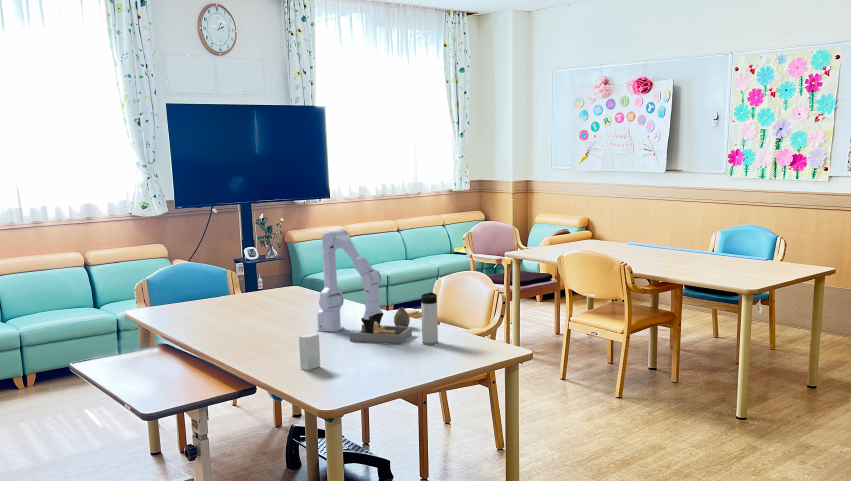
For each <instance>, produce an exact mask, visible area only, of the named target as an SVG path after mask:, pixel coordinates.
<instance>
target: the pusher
mask: <svg viewBox="0 0 851 481" xmlns="http://www.w3.org/2000/svg"><path fill="white" fill-rule="evenodd" d="M385 326H386V324H385V325H383V324H382V326H381V327H380V328H378V329H377V330H376V331H374V332H373V333H374V334H395V331H394V330H385Z"/></svg>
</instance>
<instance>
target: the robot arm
mask: <svg viewBox="0 0 851 481" xmlns="http://www.w3.org/2000/svg"><path fill="white" fill-rule="evenodd" d="M321 238H322V239H321V241H322V246H321V251H322V253H321V254H322V268H323V281H324V282H323V283H324V284H323V285H324V288H323V289H322V290H321V292H320V293H319V300H318V304H319V305H318V306H319V307H320V308H319V310H318V311H317V330H316V331H318V332H334V333H338V332H340V331H341V330H343V329H344V328H345V326H343V325H342V324H341V323H342V322H341V309H342V306H343V305H344V302H345V301H344V296H343V292H342V289H340V288H339V287H338V279H337V278H338V277H337V261H336V251H337V250H338V249H342V250H343V251H344V252H345V253H346V255H347V256H348V257H349V258H350V259H351V260H352V261H353V263H352V266H353V268H354V269H355V270H356V271H357V273H358V274H359V276H360V277H361V279H360V280H361V284H362V285H363V286H362V287H363V290H364V302H365V303H364V305H365V306H364V308H365V309H364V310H365V311H364V314H363V317H361V323H362V324H363V325H364V326H365V329H366V333H373V326H374V322H375V321H376V322H377V323H379V328H380V325H381V321H382V318H383V316H384V312H383V310H382V309H381V308H382V307H381V306H380V295H379V294H380V292H379V289H380V288H379V284H380V283H381V282H382V275H381V273H380V271H379V270H377V269H374V268H373V267H372V266H371V265H370V263H369V262H368V259H367V258H366V257H364V256H361V255H360V254H359V252H358V251H357V249H356V247H355V246H354V244H353V243H352V242H351V236H350V234H349V232H348V231H347V230H346V229H340V230H339V229H338V230H330V231H329V230H328V231H326V232H325V233H324V234H323V235H322V237H321ZM341 325H342V326H341Z"/></svg>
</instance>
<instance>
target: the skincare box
mask: <svg viewBox="0 0 851 481" xmlns="http://www.w3.org/2000/svg"><path fill="white" fill-rule="evenodd" d="M298 339H299V340H298V341H299V342H298V344H299V345H298V346H299V363H300V364H299V365H300V367H299V368H300V369H301V370H304V371H311V370H314V369H316V368H319V367H320V368H321V355H320V353H321V352H320V335H319V334H318V333H313V332H311V333H306V334H304V335H299V337H298Z"/></svg>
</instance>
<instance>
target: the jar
mask: <svg viewBox="0 0 851 481" xmlns="http://www.w3.org/2000/svg"><path fill="white" fill-rule="evenodd" d="M378 328H379V323H377V322H376V321H375V322H374V326H373V332H374V331H376V330H377V329H378Z"/></svg>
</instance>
